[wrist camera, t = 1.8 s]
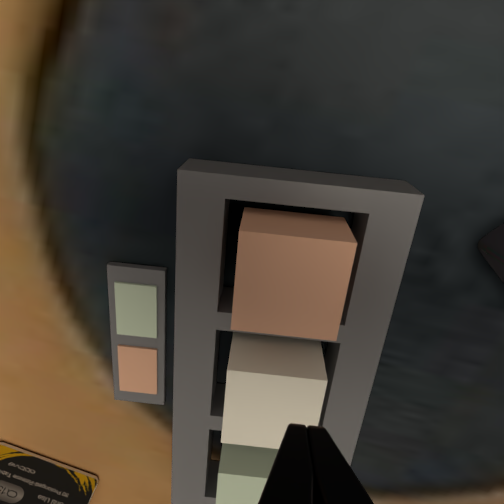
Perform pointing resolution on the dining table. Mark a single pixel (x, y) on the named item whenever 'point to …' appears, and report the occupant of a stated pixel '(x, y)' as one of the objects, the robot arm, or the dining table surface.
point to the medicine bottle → (41, 479)
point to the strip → (138, 331)
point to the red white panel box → (494, 250)
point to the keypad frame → (219, 318)
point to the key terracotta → (292, 273)
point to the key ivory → (271, 388)
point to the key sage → (243, 473)
